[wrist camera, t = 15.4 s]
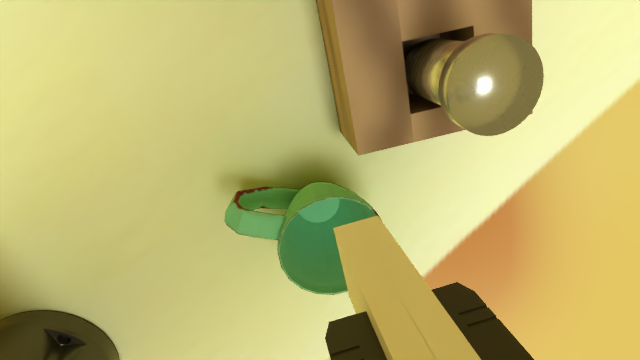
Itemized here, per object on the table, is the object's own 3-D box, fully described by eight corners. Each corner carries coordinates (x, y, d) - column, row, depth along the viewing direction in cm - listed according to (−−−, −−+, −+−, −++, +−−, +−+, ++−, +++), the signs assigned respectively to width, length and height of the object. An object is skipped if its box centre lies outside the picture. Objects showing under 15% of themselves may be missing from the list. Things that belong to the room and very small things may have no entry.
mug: (373, 172, 46) (404, 211, 37) (345, 249, 49) (366, 303, 40) (241, 137, 43) (237, 170, 33) (218, 222, 46) (209, 274, 36)
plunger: (401, 112, 38) (452, 145, 28) (391, 38, 35) (444, 46, 26) (469, 96, 38) (543, 123, 28) (464, 22, 36) (543, 23, 26)
